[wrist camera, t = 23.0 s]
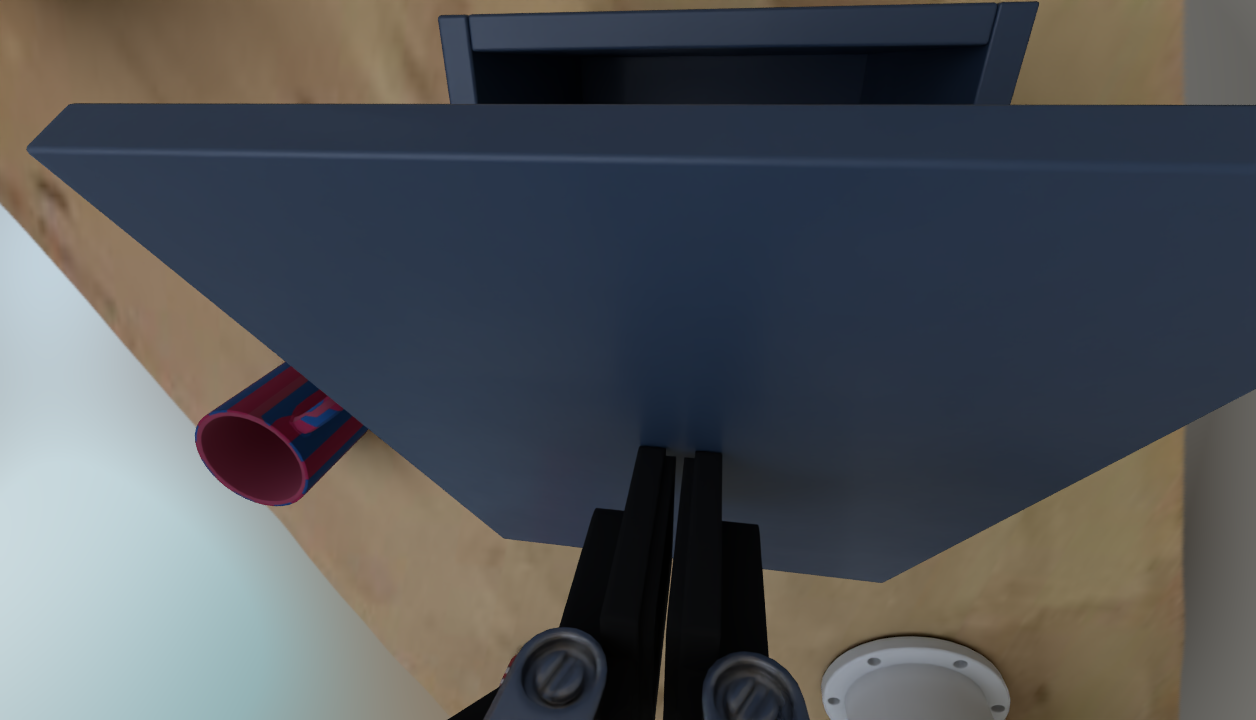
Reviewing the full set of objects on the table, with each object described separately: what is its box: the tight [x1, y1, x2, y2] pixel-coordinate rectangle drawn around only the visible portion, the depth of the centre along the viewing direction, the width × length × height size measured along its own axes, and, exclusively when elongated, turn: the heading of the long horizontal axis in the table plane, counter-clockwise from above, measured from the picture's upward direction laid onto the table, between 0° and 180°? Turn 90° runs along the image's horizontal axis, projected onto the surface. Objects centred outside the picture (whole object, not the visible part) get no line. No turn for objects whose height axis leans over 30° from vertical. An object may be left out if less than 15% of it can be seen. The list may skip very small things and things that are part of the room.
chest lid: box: [26, 103, 1256, 583], centre depth 12 cm, size 18×14×1 cm
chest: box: [438, 1, 1039, 105], centre depth 22 cm, size 17×14×13 cm
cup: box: [195, 362, 368, 506], centre depth 33 cm, size 7×10×7 cm
